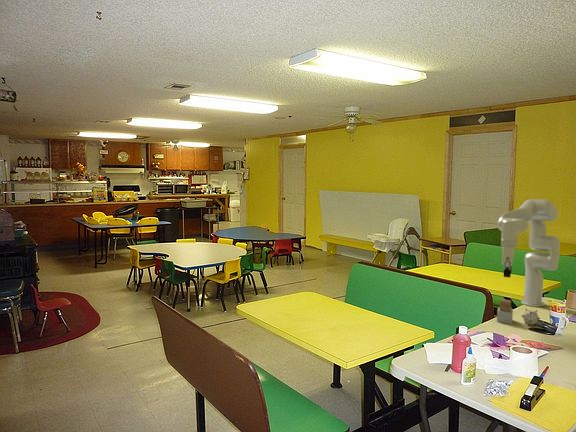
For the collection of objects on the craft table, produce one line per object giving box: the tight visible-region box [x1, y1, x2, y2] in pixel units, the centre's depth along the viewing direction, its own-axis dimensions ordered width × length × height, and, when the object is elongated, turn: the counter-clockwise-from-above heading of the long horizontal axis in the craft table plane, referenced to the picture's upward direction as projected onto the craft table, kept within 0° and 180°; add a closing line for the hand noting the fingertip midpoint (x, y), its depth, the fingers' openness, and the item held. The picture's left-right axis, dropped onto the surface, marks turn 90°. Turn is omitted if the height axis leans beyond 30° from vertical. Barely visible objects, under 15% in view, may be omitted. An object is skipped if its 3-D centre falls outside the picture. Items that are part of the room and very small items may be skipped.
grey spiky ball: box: [521, 308, 541, 326], centre depth 219 cm, size 9×8×10 cm
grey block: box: [496, 306, 514, 325], centre depth 225 cm, size 7×7×6 cm
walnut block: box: [499, 298, 512, 312], centre depth 225 cm, size 5×5×5 cm
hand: (507, 275), depth 224 cm, fingers open, 9 cm apart
